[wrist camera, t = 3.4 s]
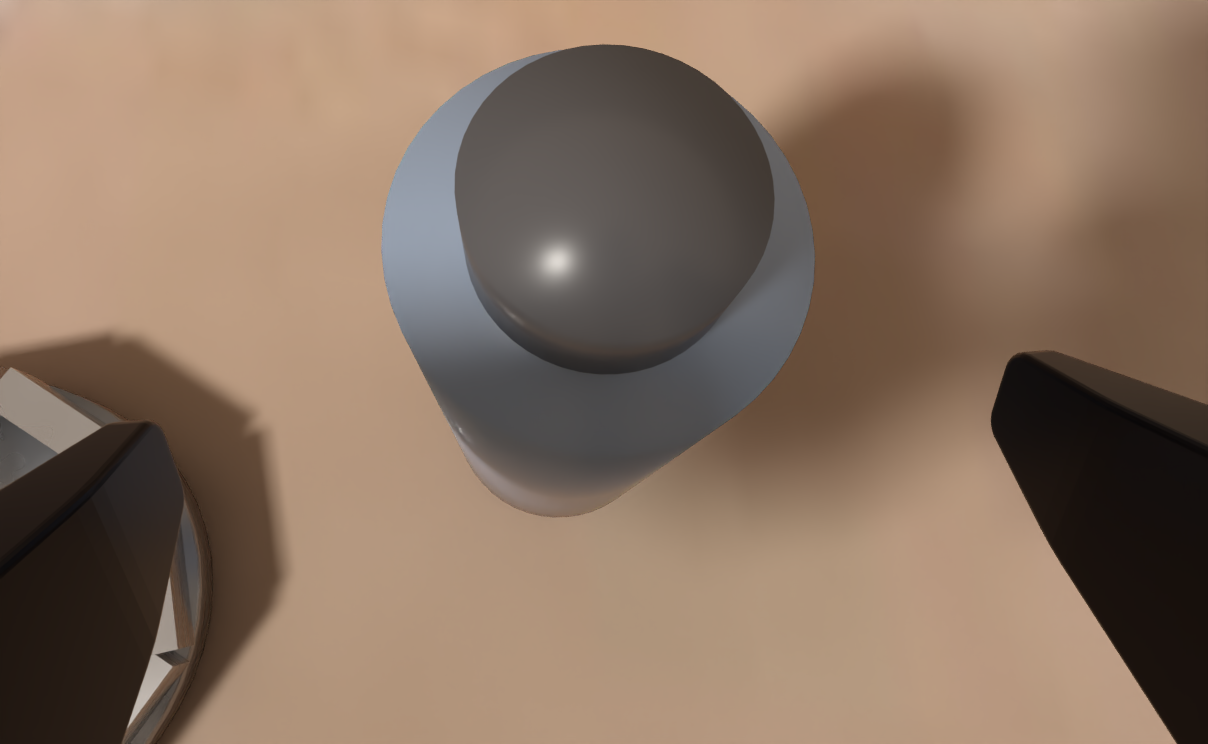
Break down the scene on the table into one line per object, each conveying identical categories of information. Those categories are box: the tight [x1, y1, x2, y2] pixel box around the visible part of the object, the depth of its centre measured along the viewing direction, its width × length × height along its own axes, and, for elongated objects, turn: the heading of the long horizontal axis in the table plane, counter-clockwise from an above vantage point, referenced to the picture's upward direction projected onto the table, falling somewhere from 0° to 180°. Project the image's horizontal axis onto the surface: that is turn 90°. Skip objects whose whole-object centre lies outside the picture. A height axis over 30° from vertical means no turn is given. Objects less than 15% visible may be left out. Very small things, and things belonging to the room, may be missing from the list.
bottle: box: [382, 45, 815, 517], centre depth 12 cm, size 4×4×11 cm
